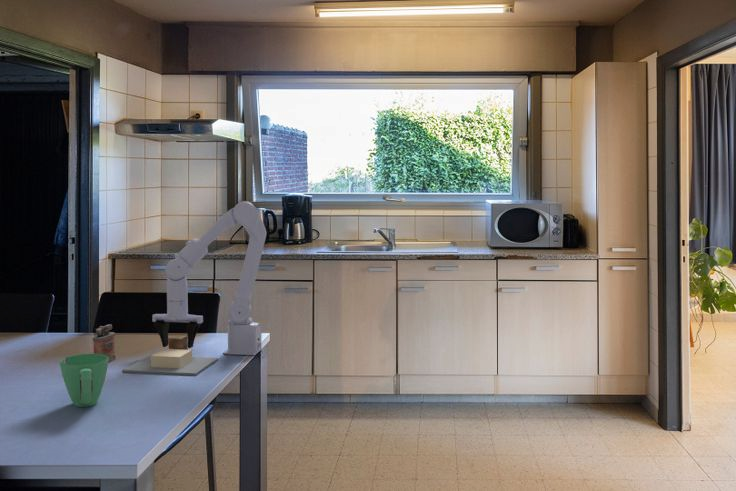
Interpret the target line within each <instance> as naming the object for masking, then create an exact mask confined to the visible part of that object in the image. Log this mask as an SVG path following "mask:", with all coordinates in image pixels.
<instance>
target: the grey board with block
mask: <svg viewBox="0 0 736 491" xmlns="http://www.w3.org/2000/svg"><path fill="white" fill-rule="evenodd" d="M218 361H219V357H209V356H208V357H206V356H205V357H204V356H203V357H202V356H193V349H188V350H183V349H169V348H163V349H161V350H159V351H158V352H156V353H154V354H149V355H148V356H146V357H144V358H143V359H140V360H138V361H137V362H135V363H133V364H131V365H129V366H126V368H123V369H122V371H121V372H122V373H132V374H153V375H154V374H155V375H171V376H172V375H175V376H176V375H177V376H193V377H194V376H196V377H197V376H198V375H200V374H201V373H202V372H203V371H205V370H207V369H208V368H209V367H211V366H212V365H214V364H215V363H216V362H218Z"/></svg>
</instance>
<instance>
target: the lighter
mask: <svg viewBox="0 0 736 491" xmlns="http://www.w3.org/2000/svg"><path fill="white" fill-rule="evenodd" d="M112 329H113V325H112V323H111V324H106V325H104V326H103V325H100V326H99V327H98V328H95V332H96V335H95V336H93V337H92V342H93V354H104V355H107V356H108V364H110V363H112V362H114V361H115V360H116V353H115V350H116V348H115V346H116V345H115V336H116V333H115V332H114V331H111V330H112Z"/></svg>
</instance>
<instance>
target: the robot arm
mask: <svg viewBox="0 0 736 491" xmlns="http://www.w3.org/2000/svg"><path fill="white" fill-rule="evenodd" d="M238 224H239V225H241V226H243V227H244V230H245V231H246V232H247V234H248V235H249V240H248V244H247V245H248V246H247V248H246V253H245V257H244V261H243V265H242V269H241V273H240V277H239V280H238V285H237V289H236V293H235V297H234V299H233V300H232V301H231V302H230V305H229V308H228V312H227V313H228V317H229V319H228V320H227V349H226V350H225V351H223V352H222V354H223V355H239V356H256V355H257V354H259V352H261V351H262V350H263V346H262V325H261V323H259V322H256V321H255V322H254V320H253V318H252V317H251V315H252V314H251V313H252V304H251V300H252V295H253V291H254V288H255V287H254V286H255V283H256V279H257V275H258V272H259V271H258V270H259V267H260V263H261V258H262V254H263V250H264V246H265V242H266V238H267V230H266V226H265V224H264V221H263V219H262V216H261V214H260V211H259V210H258V209H257V207H256V206H255V205H254V204H253V203H252V202H250V201H245V200H242V201H241V202H239V203H237V204H236V205H234V207H232V208H230V209H229V210H228V211H226V212H225V213H224V214H222V215H221V216H220V217H219V218H218V219H217V220H216V221H215V222H214V223H213V225H211V226H210V228H208V229H207V231H206V232H205V233H204V234H203V235H202V236H201V237H199V238H192V239H191V240H187V241H186V242H185V246H184V247H183V248H182V249H181V250H180V251H179V252H178V253H175V254H173V257H174V259H171V260H168V262H167V264H166V265H165V275H166V276H167V277H166V281H167V284H166V307H167V308H166V312H167V313H155V314H154V313H153V314H152V317H151V318H152V322H153V323H154V328H155V330H156V331H157V333H158V336H159V337H160V340H161V345H162V348H166V347H169V343H168V338H169V328H170V323H188V324H185V328H186V334H187V335H186V336H187V343H188V349H191V348H193V347H194V343H195V340H196V339H195V338H196V336H197V333H198V331H199V329H200V326H201V324H202V323H204V316H203V315H196V314H189V307H188V306H189V304H188V302H189V301H188V300H189V299H188V298H189V297H188V289H189V288H188V281H187V280H188V278H187V277H188V276H187V275H188V273H189V270H190V269H192V268H194V267H195V266H197V264H198V263H199V262H200V261H201V260H202V259H203V258H204V257H205V256H206V255H207V254H209V253H208V246H210V245H211V243H213V241H214V240H216V239H217V238H218V237H219V236H220V235H221V234H222V233H223V232H224V231H225V230H226V229H228V228H230V227H233V226H236V225H238Z"/></svg>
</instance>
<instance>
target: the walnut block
mask: <svg viewBox="0 0 736 491" xmlns="http://www.w3.org/2000/svg"><path fill="white" fill-rule="evenodd" d="M168 349H183V350H189V348H188V335H179V334H178V335H176V334H175V335H172V336H170V337H168Z"/></svg>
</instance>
